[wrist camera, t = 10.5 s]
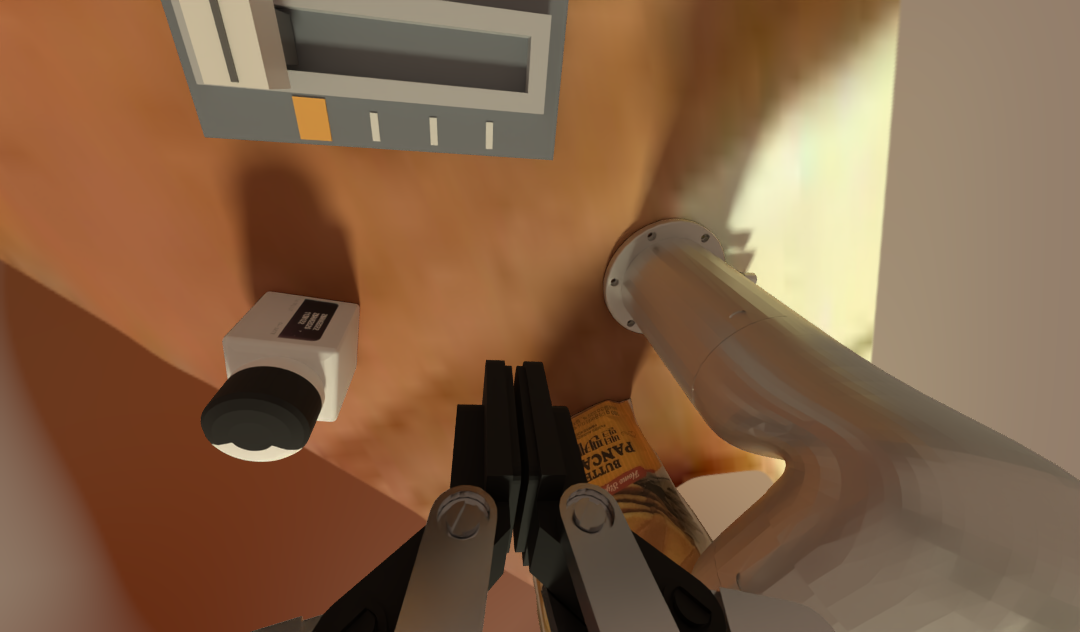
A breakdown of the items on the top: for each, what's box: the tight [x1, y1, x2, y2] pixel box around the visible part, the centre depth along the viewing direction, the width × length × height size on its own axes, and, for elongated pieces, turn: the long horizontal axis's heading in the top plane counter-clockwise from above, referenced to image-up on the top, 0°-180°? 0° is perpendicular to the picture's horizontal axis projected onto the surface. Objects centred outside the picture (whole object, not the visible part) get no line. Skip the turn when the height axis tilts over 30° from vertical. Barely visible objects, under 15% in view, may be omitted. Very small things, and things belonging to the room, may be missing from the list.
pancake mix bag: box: [533, 399, 713, 632], centre depth 38 cm, size 7×19×28 cm, turn 119°
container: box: [201, 291, 360, 462], centre depth 32 cm, size 8×8×13 cm
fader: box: [179, 0, 299, 90], centre depth 21 cm, size 3×5×6 cm, turn 175°
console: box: [161, 0, 568, 160], centre depth 26 cm, size 24×12×4 cm, turn 85°
